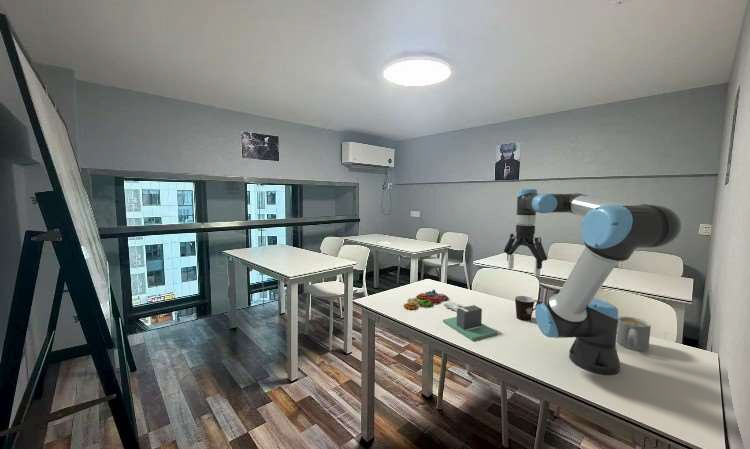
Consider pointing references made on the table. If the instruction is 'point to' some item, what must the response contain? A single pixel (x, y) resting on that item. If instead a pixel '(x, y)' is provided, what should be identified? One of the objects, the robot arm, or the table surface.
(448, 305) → the gun
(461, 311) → the plug
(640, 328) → the coffee mug
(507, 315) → the table surface
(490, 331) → the board
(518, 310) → the coffee mug
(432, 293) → the gear puzzle
